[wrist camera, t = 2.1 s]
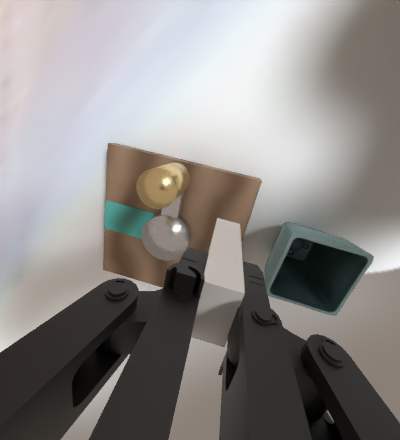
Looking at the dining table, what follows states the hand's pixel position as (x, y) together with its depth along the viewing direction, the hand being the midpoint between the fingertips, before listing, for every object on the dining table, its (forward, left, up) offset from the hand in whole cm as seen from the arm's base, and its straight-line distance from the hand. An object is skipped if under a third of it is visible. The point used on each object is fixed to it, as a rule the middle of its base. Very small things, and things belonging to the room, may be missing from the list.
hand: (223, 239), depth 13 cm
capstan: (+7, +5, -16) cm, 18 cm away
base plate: (+7, +9, -18) cm, 21 cm away
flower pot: (-12, +6, -18) cm, 22 cm away
